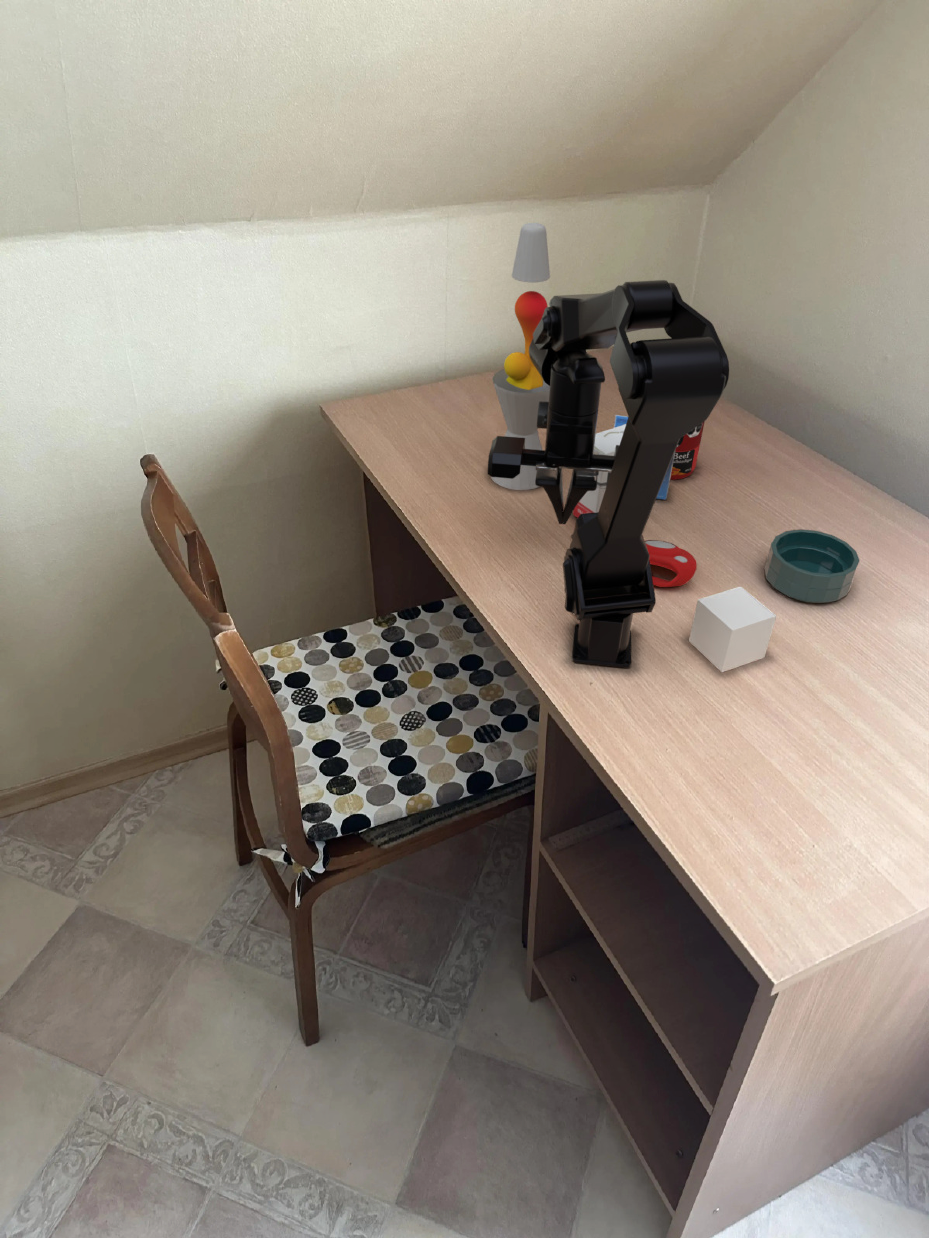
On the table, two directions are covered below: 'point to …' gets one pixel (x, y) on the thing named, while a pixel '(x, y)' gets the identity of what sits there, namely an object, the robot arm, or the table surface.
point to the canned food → (687, 453)
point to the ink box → (603, 446)
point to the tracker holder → (671, 562)
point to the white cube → (731, 628)
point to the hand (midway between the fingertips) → (562, 522)
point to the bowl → (811, 566)
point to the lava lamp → (525, 355)
